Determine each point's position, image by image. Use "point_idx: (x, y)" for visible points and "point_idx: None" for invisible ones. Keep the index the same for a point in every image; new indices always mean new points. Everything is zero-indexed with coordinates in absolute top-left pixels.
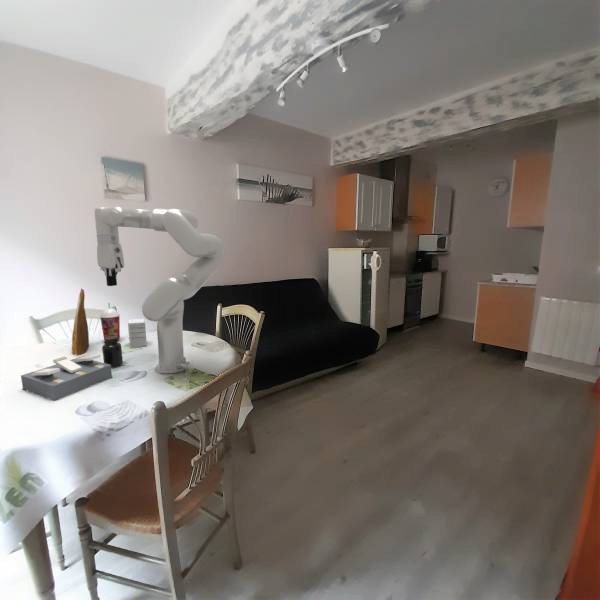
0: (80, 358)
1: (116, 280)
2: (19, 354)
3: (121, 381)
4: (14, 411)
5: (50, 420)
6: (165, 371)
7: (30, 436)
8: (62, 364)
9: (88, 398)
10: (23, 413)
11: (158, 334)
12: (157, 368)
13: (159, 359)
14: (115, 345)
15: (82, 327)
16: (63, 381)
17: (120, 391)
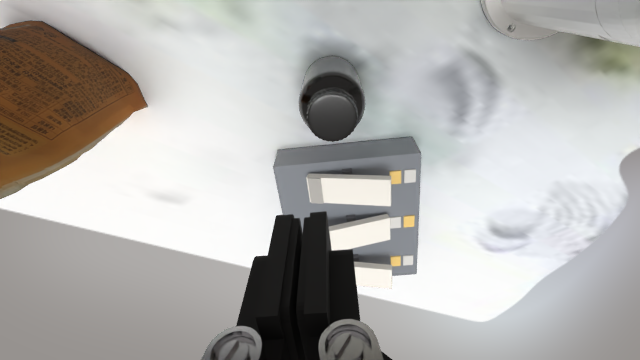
0: (334, 199)
1: (326, 250)
2: (22, 190)
3: (458, 137)
4: (387, 291)
5: (473, 278)
6: (558, 31)
7: (489, 304)
8: (351, 246)
9: (463, 218)
10: (408, 288)
11: (622, 43)
12: (514, 31)
13: (538, 26)
14: (359, 108)
15: (60, 101)
16: (412, 256)
17: (503, 169)
